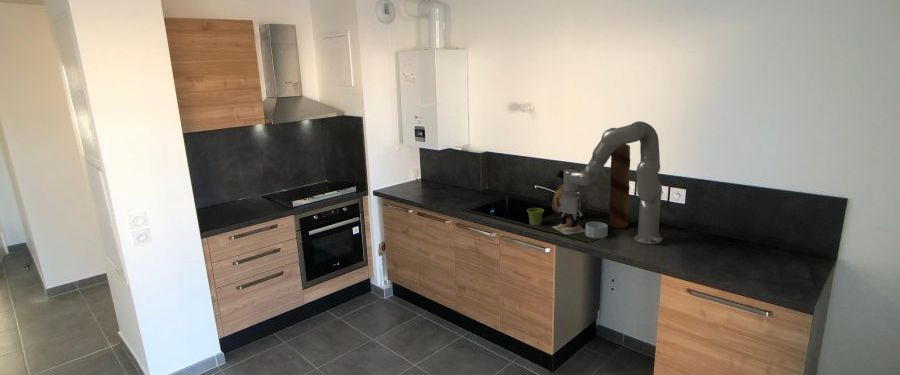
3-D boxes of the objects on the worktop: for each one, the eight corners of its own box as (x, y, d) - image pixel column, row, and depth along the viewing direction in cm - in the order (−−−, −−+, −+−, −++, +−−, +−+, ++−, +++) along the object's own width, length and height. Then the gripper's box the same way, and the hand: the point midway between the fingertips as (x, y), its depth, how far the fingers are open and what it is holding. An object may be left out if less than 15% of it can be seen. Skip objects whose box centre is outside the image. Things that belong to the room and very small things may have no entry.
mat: (588, 232, 264) (588, 230, 264) (565, 235, 260) (565, 234, 260) (573, 224, 277) (573, 223, 277) (551, 228, 273) (551, 226, 273)
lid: (586, 230, 265) (586, 220, 263) (565, 233, 261) (566, 223, 259) (573, 224, 276) (573, 214, 275) (553, 227, 272) (553, 217, 271)
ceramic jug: (551, 221, 285) (552, 170, 278) (551, 213, 300) (552, 164, 293) (582, 221, 282) (584, 170, 275) (580, 214, 297) (581, 164, 290)
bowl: (611, 237, 255) (611, 226, 253) (593, 240, 251) (593, 229, 250) (598, 231, 265) (599, 220, 263) (581, 234, 261) (581, 223, 260)
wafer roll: (603, 224, 277) (607, 143, 267) (619, 221, 280) (623, 142, 270) (615, 229, 267) (619, 146, 257) (631, 226, 270) (636, 144, 260)
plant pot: (524, 226, 278) (524, 211, 276) (530, 221, 286) (530, 207, 284) (540, 228, 273) (541, 213, 271) (545, 223, 281) (546, 208, 279)
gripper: (588, 193, 261) (587, 226, 265) (560, 189, 272) (559, 220, 276) (581, 196, 255) (580, 230, 259) (552, 191, 267) (552, 224, 271)
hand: (569, 224), depth 268 cm, fingers open, 5 cm apart
